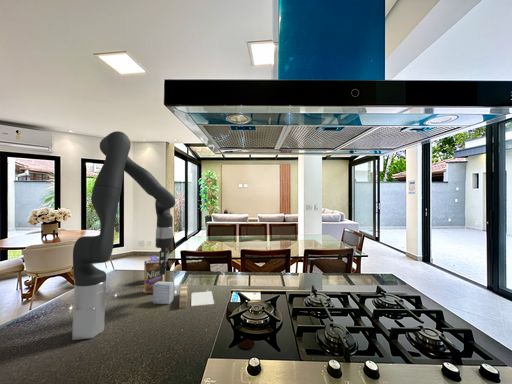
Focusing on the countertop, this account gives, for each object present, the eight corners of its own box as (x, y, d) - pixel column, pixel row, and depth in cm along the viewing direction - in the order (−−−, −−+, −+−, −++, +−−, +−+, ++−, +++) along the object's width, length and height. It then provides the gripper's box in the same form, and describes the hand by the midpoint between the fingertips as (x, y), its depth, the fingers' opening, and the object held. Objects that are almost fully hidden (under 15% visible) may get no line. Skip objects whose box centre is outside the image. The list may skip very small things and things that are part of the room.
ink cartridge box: (158, 278, 147) (159, 253, 148) (164, 279, 144) (164, 255, 145) (143, 282, 139) (144, 256, 140) (149, 284, 136) (150, 258, 137)
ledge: (186, 307, 106) (186, 295, 106) (179, 307, 105) (179, 296, 106) (187, 294, 121) (187, 283, 122) (181, 294, 121) (181, 284, 121)
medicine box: (173, 300, 113) (174, 281, 113) (169, 304, 109) (169, 285, 109) (157, 299, 114) (158, 281, 114) (152, 303, 109) (153, 284, 110)
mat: (214, 304, 109) (214, 303, 109) (191, 306, 107) (191, 305, 107) (211, 292, 124) (211, 291, 125) (191, 293, 122) (191, 292, 122)
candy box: (143, 293, 121) (144, 262, 122) (146, 290, 126) (147, 260, 126) (162, 293, 123) (163, 262, 123) (164, 290, 127) (165, 260, 128)
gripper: (171, 238, 107) (170, 275, 106) (173, 234, 121) (172, 267, 120) (153, 239, 105) (152, 277, 104) (157, 234, 119) (156, 268, 118)
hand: (163, 271), depth 112 cm, fingers open, 8 cm apart
